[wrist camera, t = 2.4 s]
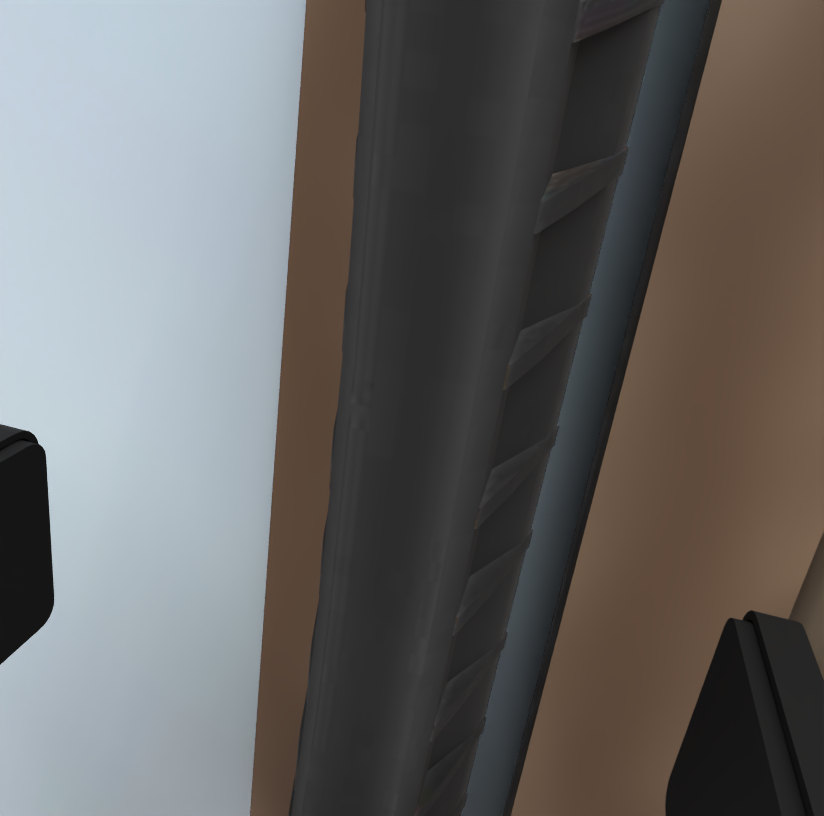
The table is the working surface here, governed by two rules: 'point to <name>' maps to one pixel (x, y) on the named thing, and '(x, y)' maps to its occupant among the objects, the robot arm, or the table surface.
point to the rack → (607, 417)
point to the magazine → (453, 370)
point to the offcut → (813, 605)
